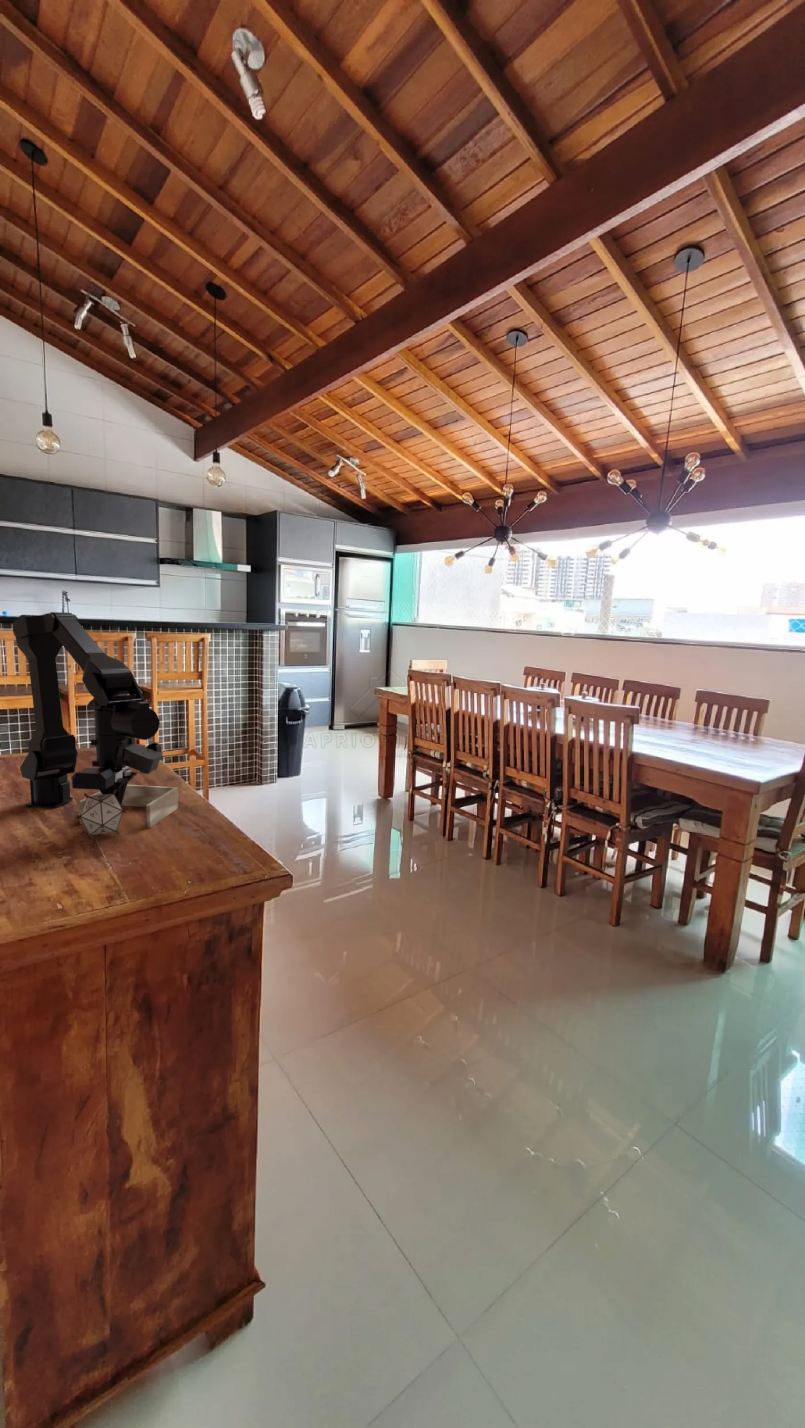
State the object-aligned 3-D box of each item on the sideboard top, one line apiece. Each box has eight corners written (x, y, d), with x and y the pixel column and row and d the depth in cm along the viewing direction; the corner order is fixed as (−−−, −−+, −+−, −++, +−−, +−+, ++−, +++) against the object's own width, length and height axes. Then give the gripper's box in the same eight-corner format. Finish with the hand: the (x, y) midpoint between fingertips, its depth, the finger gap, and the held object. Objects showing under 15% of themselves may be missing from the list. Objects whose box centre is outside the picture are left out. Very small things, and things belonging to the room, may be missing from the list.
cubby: (79, 823, 113) (78, 801, 112) (114, 804, 125) (113, 783, 125) (150, 827, 112) (149, 805, 112) (178, 807, 125) (177, 787, 124)
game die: (109, 856, 107) (107, 826, 100) (66, 839, 107) (61, 808, 100) (137, 819, 114) (137, 789, 107) (96, 802, 113) (93, 771, 107)
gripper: (130, 745, 100) (134, 830, 103) (175, 724, 119) (177, 798, 121) (66, 742, 101) (72, 828, 103) (121, 722, 119) (125, 795, 122)
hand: (116, 811), depth 112 cm, fingers closed
